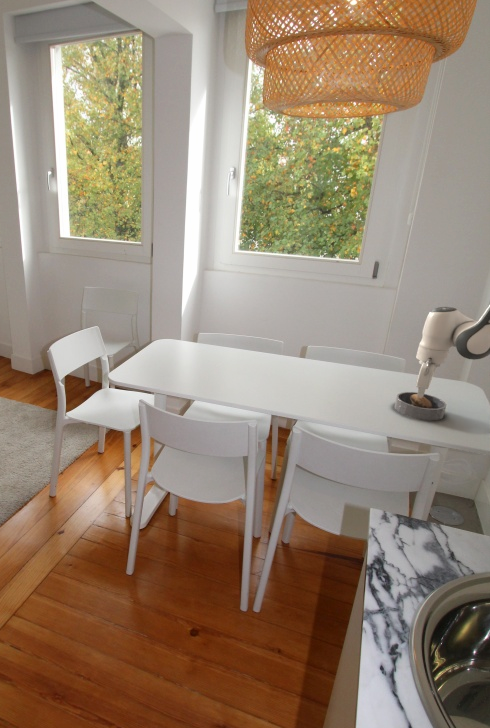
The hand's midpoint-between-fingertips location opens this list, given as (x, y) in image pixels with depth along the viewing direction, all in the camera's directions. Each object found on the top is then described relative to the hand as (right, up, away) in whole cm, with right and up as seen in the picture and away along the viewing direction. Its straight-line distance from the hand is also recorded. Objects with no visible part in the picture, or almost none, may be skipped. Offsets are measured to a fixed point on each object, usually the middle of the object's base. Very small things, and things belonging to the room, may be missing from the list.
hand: (421, 392), depth 163 cm
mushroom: (0, -7, +2) cm, 7 cm away
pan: (0, -7, +2) cm, 7 cm away
